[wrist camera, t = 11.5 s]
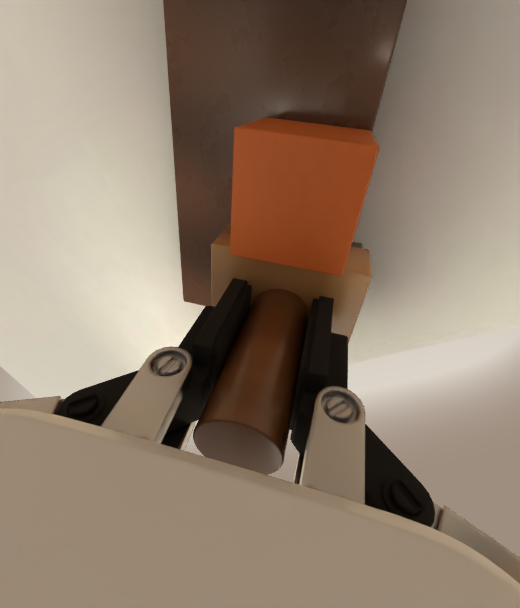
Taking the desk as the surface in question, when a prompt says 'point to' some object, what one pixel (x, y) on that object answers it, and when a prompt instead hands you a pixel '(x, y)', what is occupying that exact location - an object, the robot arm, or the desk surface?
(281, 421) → the brush
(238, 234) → the orange cube
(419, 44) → the desk surface
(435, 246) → the desk surface
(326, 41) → the serving board
